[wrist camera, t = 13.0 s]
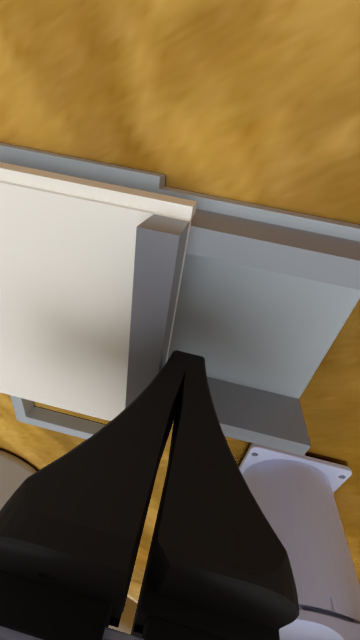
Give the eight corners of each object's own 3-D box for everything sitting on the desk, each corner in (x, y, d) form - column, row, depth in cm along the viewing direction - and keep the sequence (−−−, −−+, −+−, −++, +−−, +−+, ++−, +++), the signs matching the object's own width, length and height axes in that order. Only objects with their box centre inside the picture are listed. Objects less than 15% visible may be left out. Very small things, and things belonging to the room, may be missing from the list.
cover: (159, 415, 16) (144, 467, 14) (11, 377, 17) (-31, 420, 14) (197, 201, 10) (181, 220, 7) (-50, 151, 10) (-155, 150, 8)
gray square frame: (247, 468, 24) (250, 526, 20) (26, 410, 25) (-10, 454, 22) (390, 218, 12) (460, 247, 8) (-46, 133, 13) (-155, 125, 10)
